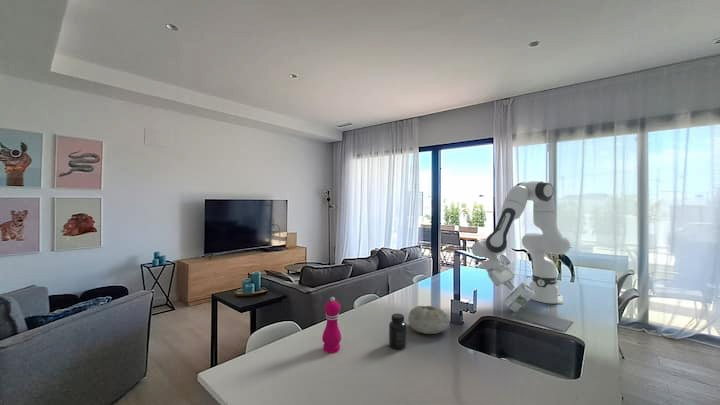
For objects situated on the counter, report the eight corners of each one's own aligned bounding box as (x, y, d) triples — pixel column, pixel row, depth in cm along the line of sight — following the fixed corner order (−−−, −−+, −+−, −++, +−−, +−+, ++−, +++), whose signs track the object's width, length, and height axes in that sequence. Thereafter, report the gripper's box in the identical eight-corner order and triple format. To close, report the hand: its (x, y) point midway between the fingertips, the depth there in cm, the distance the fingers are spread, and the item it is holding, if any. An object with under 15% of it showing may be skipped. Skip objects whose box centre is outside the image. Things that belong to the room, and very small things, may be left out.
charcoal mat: (523, 309, 157) (523, 308, 157) (572, 322, 141) (573, 321, 141) (512, 317, 146) (512, 316, 146) (564, 332, 130) (564, 331, 130)
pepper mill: (326, 355, 107) (327, 301, 107) (319, 346, 113) (320, 295, 113) (344, 351, 110) (345, 298, 110) (336, 343, 117) (337, 293, 116)
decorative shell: (415, 318, 142) (416, 298, 142) (453, 327, 133) (453, 305, 133) (402, 333, 127) (402, 310, 127) (443, 343, 118) (444, 319, 118)
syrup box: (513, 306, 157) (531, 287, 152) (516, 313, 152) (535, 293, 147) (504, 300, 157) (521, 281, 152) (507, 307, 152) (525, 288, 147)
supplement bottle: (407, 343, 117) (408, 313, 117) (404, 351, 111) (405, 320, 111) (390, 340, 120) (391, 311, 119) (386, 348, 113) (387, 317, 113)
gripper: (490, 266, 152) (509, 289, 145) (505, 261, 166) (524, 282, 159) (481, 273, 155) (500, 296, 148) (497, 267, 169) (515, 288, 162)
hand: (512, 289), depth 154 cm, fingers closed
